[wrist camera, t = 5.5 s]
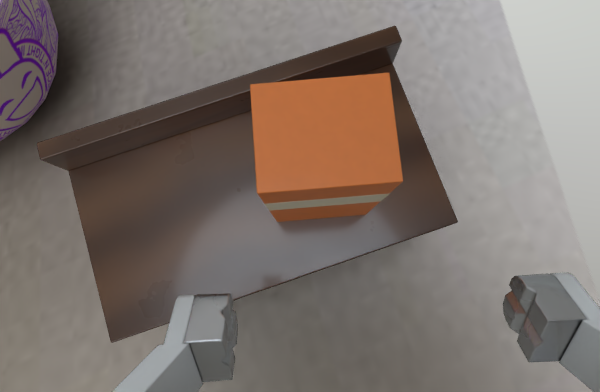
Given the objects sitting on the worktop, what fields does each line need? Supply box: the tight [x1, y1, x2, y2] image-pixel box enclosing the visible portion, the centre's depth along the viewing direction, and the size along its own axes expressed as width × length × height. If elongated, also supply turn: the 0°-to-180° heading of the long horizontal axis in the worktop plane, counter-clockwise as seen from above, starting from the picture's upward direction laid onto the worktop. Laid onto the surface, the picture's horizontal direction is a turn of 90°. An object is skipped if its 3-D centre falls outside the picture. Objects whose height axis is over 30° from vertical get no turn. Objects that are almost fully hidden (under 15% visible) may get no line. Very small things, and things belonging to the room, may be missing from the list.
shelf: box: [37, 26, 458, 343], centre depth 26 cm, size 11×20×12 cm, turn 109°
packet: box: [250, 73, 403, 222], centre depth 19 cm, size 4×5×9 cm
